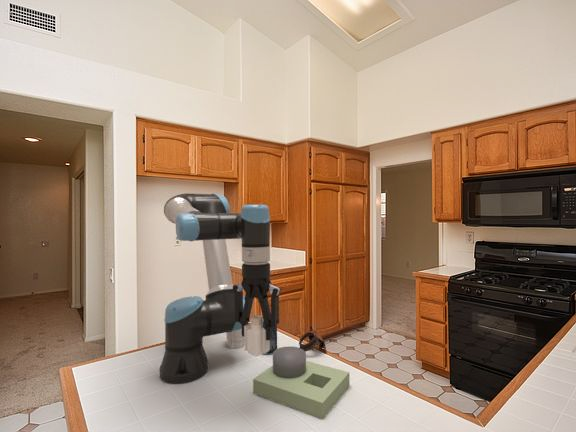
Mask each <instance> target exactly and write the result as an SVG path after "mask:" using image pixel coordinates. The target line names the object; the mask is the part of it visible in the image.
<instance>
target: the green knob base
mask: <svg viewBox="0 0 576 432" xmlns="http://www.w3.org/2000/svg"><path fill="white" fill-rule="evenodd" d="M306 352H307V351H304V350H303V349H301V348H300V347H298V346H297V347H296V346H281V347H277V349H276V350H275V351H274V352H273V354H272V365H271V366H269V368H267V369H265V370H264V371H262V372H261V373H260V374H258V375H257V376H255V377H254V378H252V394H255V395H257V396H260V397H262V398H265V399H268V400H270V401H273V402H276V403H279V404H282V405H284V406H287V407H289V408H292V409H294V410H298V411H300V412H303V413H306V414H308V415H310V416H314V417H317V418H319V419H322V420H324V418H325V417H326V415H328V413H329V412H330V410H331V409H332V408H333V407H334V406H335V404H336V403H337V402H338V401H339V399H340V398H341V397H342V396H343V395H344V393H345V392H346V391H347V390H348V388H349V387H350V372H349V371H346V370H341V369H338V368H334V367H331V366H326V365H323V364H320V363H316V362H313V361H309V360H307V354H306Z"/></svg>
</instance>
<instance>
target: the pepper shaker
mask: <svg viewBox="0 0 576 432" xmlns="http://www.w3.org/2000/svg"><path fill="white" fill-rule="evenodd" d="M262 318H263V316H262V315H258V314H257V315H252V316H250V323H251V328H250V329H248V331H247V351H246V352H247V353H248V354H250V355H252V356H254V357H259V356H261V355H263V352H262V324H263V321H262Z"/></svg>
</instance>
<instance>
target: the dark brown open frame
mask: <svg viewBox="0 0 576 432" xmlns="http://www.w3.org/2000/svg"><path fill="white" fill-rule="evenodd" d="M307 338H308V339H309V342H307V343H303V341H304V340H305V339H307ZM325 343H326V342H325V341H324V338H323V337H322V336H321V335H319V334H318V333H317V332H316V330H314V329H313V330H311V331H307V332H305V333H303V335H301V336H300V338H299V341H298V345H299V348H301V349H303V350H304V351H305V352H309V351H313V352H314V351H315V349H314V347H315V346H318V348H319V349H323V351H324V354H327V348H326V347H327V346H326V344H325Z"/></svg>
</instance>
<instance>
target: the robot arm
mask: <svg viewBox="0 0 576 432" xmlns="http://www.w3.org/2000/svg"><path fill="white" fill-rule="evenodd" d="M240 210H241V211H240V212H230V211H231V208H230V204H229V200H228V198H226V197H225V196H224V195H223V194H219V193H218V194H216V193H189V192H187V193H186V192H185V193H180V194H176V195H174V196H172V197H170V198H169V199H168V200H167V201H166V202H165V204H164V206H163V215H164V216H165V217H166V219H167V220H168V221H169V222H170V223H172V224H175V234H176V238H177V240H179V241H180V242H185V241H186V242H187V241H188V242H195V241H202V247H203V254H204V263H205V270H206V276H207V278H206V279H207V284H208V286H207V287H208V291H207V293H206V294H205V300H204V299H203V298H202V297H201V296H197V295H195V296H191V295H190V296H185V297H181V298H179V299H176V300H173V301H171V302H170V303H168V304H167V305H166V308H165V311H164V318H163V319H164V320H163V322H164V326H165V327H164V331H165V334H164V337H165V340H164V348H165V349H164V353H163V357H162V361H161V364H160V366H159V379H160V380H161V381H162V382H164V383H167V384H185V383H189V382H193V381H196V380H197V379H200V378H202V377H204V376H205V375H206V374H207V373H208V371H209V360H208V357H207V354H206V351H205V349H204V346H203V344H204V343H203V339H204V338H205V337H210V336H215V335H219V334H224V333H226V332H232V331H235V330H239V329H241V328H242V337H244V346H243V347H244V348H243V350H244V352H245V351H246V352H247V331H248V329H250V328H251V314H252V313H251V312H252V308H253V302H254V299H256V300H257V302H258V303H259V306H260V310H261V316H262V318H263V320H264V325H265V327H264V328H262V352H263V354H264V355H267V354H266V353H267V352H268V351H269V350H270V340H271V339H272V327H275V326H276V325H277V326H278V325H279V324H280V293H281V290H282V288H281V287H280V286H275V285H273V284H272V282H271V264H270V261H271V246H270V245H271V243H270V240H271V239H270V238H271V237H270V236H271V233H270V232H271V217H270V207H269V206H268V205H267V204H244V205H242V207H241V209H240ZM237 239H239V240H240V239H241V261H242V265H241V277H242V281H241V283H237V284H233V278H232V272H231V266H230V259H229V253H228V247H227V242H226V240H237ZM243 291H244V292H245V295H244V292H243ZM269 291H270V292H269ZM268 293H269V294H270V303H269V295H268ZM263 354H262V355H263Z"/></svg>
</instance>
